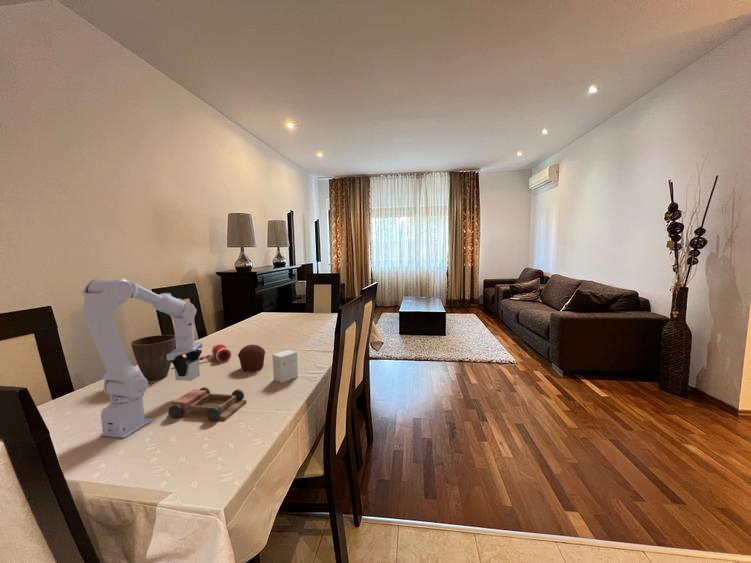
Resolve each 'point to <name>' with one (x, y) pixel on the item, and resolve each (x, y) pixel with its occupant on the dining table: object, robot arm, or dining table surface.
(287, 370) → the small box
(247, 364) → the muffin
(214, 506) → the dining table surface
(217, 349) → the toy hammer
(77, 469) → the dining table surface
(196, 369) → the grey block
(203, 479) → the dining table surface
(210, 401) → the chassis
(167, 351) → the plant pot
